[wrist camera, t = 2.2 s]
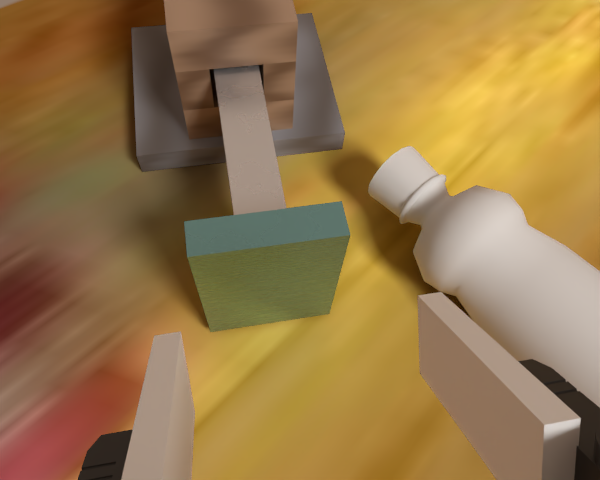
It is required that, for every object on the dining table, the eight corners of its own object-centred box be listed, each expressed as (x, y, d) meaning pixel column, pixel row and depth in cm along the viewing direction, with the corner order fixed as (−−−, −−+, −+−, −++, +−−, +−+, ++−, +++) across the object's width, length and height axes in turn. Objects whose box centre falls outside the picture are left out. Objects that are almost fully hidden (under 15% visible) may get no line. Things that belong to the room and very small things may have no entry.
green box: (210, 331, 35) (187, 257, 25) (189, 122, 43) (165, 6, 34) (329, 313, 36) (350, 235, 26) (285, 112, 44) (289, -4, 35)
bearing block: (142, 171, 41) (97, 49, 31) (136, 46, 48) (98, -90, 37) (341, 148, 43) (364, 27, 33) (310, 31, 50) (320, -102, 39)
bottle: (835, 461, 30) (446, 141, 41) (948, 519, 22) (423, 99, 33) (706, 558, 32) (366, 226, 43) (764, 645, 24) (326, 207, 35)
